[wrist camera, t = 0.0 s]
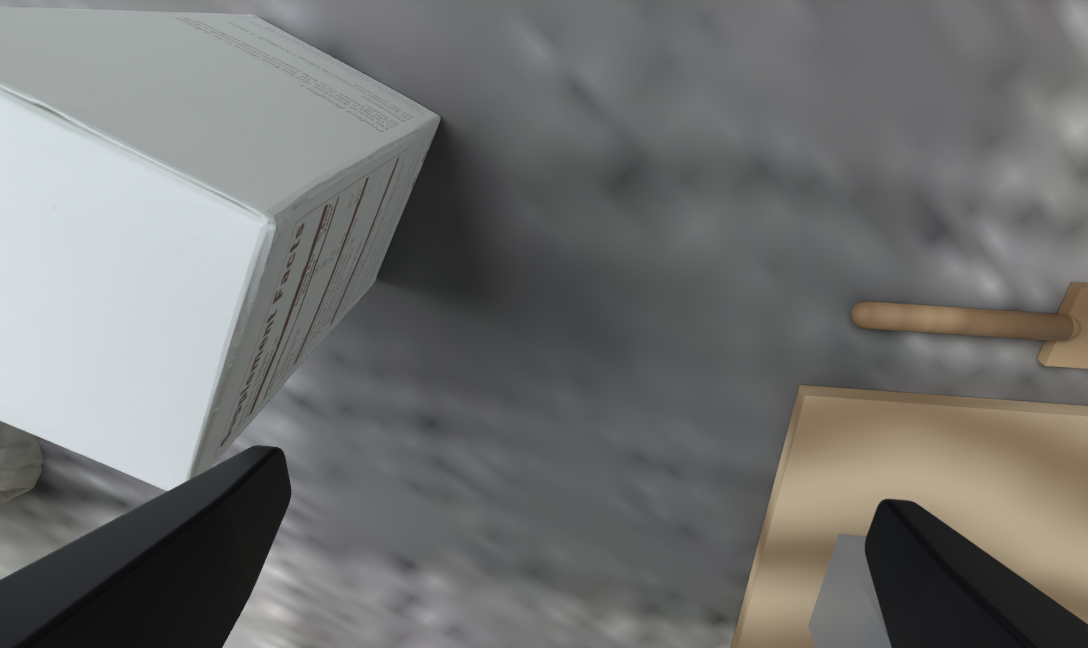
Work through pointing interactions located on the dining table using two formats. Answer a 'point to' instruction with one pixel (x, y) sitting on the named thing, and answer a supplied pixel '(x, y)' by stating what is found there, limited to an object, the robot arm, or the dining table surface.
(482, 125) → the dining table surface
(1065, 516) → the board
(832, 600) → the block
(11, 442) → the beige sack
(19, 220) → the supplement box
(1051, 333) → the turner
